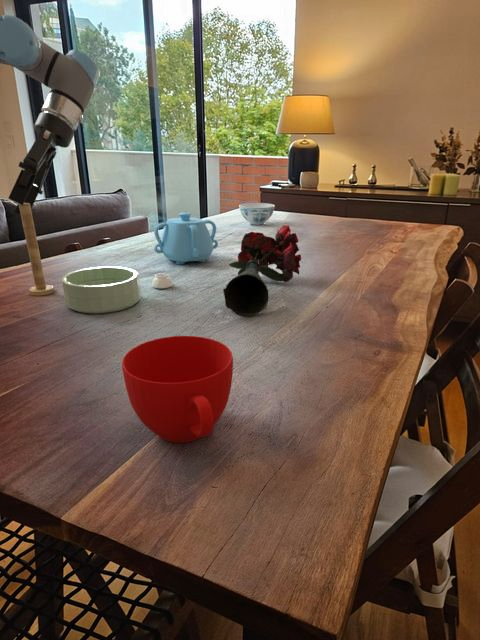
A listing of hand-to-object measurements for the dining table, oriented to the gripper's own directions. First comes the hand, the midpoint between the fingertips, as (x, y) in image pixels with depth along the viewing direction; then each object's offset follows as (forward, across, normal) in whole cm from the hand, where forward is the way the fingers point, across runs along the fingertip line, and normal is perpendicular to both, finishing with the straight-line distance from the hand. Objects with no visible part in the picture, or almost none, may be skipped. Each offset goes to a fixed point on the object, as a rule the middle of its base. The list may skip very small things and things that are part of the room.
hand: (18, 209), depth 98 cm
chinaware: (-49, +70, -73) cm, 112 cm away
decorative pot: (-11, +23, -42) cm, 49 cm away
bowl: (+12, -6, -23) cm, 27 cm away
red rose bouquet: (-5, -12, -55) cm, 56 cm away
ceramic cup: (+26, -58, -35) cm, 73 cm away
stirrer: (+14, +6, -10) cm, 19 cm away
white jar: (+2, 0, -35) cm, 35 cm away
